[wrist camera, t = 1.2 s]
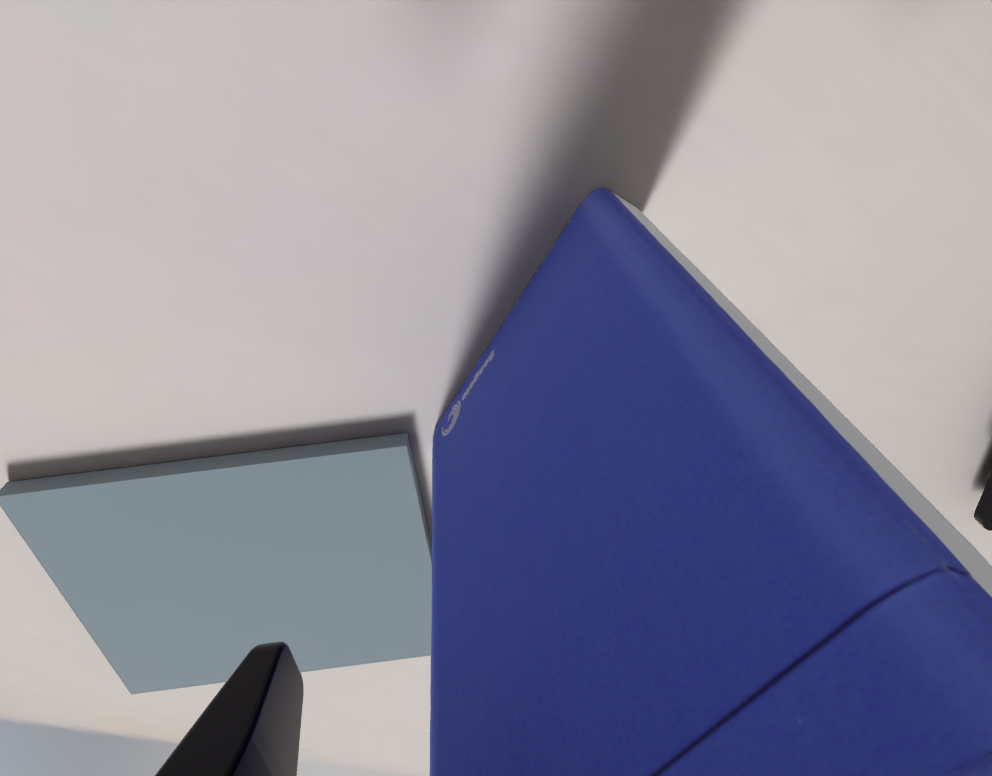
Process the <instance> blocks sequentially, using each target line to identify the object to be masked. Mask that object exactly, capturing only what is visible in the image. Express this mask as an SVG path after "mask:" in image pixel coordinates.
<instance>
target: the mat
mask: <svg viewBox="0 0 992 776" xmlns="http://www.w3.org/2000/svg"><path fill="white" fill-rule="evenodd" d="M0 506H1V507H2V509H3V510H4V512H5V513H6V515H7V516H8V518H9V519H10V520H11V522H12V523H13V525H14V526H15V528H16V529H17V530H18V532H19V533H20V535H21V536H22V538H23V539H24V541H25V542H26V543H27V545H28V546H29V548H30V549H31V551H32V552H33V554H34V555H35V556H36V558H37V559H38V561H39V562H40V564H41V565H42V566H43V568H44V569H45V571H46V572H47V574H48V575H49V577H50V578H51V579H52V581H53V582H54V584H55V585H56V587H57V588H58V590H59V591H60V592H61V594H62V595H63V597H64V598H65V600H66V601H67V602H68V604H69V605H70V607H71V608H72V610H73V611H74V613H75V614H76V615H77V617H78V618H79V620H80V621H81V623H82V624H83V626H84V627H85V628H86V630H87V631H88V633H89V634H90V636H91V637H92V638H93V640H94V641H95V643H96V644H97V646H98V647H99V649H100V650H101V651H102V653H103V654H104V656H105V657H106V659H107V660H108V662H109V663H110V664H111V666H112V667H113V669H114V670H115V672H116V673H117V675H118V676H119V677H120V679H121V680H122V682H123V683H124V685H125V686H126V687H127V689H128V690H129V692H130V693H131V694H137V693H145V692H153V691H160V690H168V689H176V688H183V687H191V686H199V685H206V684H214V683H222V682H227V680H228V679H229V678H230V677H231V675H232V674H233V673H234V671H235V670H236V669H237V667H238V666H239V665H240V663H241V662H242V661H243V660H244V658H245V657H246V656H247V654H248V653H249V652H250V651H251V649H253V648H254V647H255V646H257V645H260V644H266V643H274V642H285V643H286V644H287V645H288V646H289V648H290V650H291V653H292V655H293V657H294V659H295V662H296V664H297V666H298V669H299V671H300V672H306V671H314V670H321V669H329V668H337V667H344V666H352V665H360V664H367V663H375V662H383V661H390V660H398V659H406V658H413V657H421V656H429V655H431V625H432V548H431V543H430V538H429V533H428V529H427V524H426V519H425V514H424V509H423V505H422V500H421V495H420V490H419V486H418V481H417V476H416V471H415V466H414V462H413V457H412V452H411V447H410V443H409V438H408V433H401V434H393V435H385V436H377V437H369V438H361V439H353V440H345V441H337V442H328V443H320V444H312V445H304V446H296V447H288V448H280V449H272V450H264V451H255V452H247V453H239V454H231V455H223V456H215V457H207V458H199V459H191V460H182V461H174V462H166V463H158V464H150V465H142V466H134V467H126V468H118V469H109V470H101V471H93V472H85V473H77V474H69V475H61V476H53V477H45V478H37V479H28V480H20V481H12V482H7V483H6V484H5V485H4V486H3V488H2V489H1V490H0Z"/></svg>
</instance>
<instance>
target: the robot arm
mask: <svg viewBox="0 0 992 776" xmlns="http://www.w3.org/2000/svg"><path fill="white" fill-rule="evenodd" d="M974 518H975V519H976V520H977V521H978V522H979V523H980V524H981V525H982V526H983V527H984V528H985V529H987V530H992V472H991V475H990V477H989V479H988V482H987V484H986V487H985V489H984V491H983V494H982V496H981V498H980V501H979V503H978V505H977V508H976V510H975V513H974ZM302 704H303V680H302V676H301V673H300V671H299V669H298V666H297V664H296V662H295V659H294V657H293V655H292V653H291V650H290V648H289V646H288V645H287V644H286V643H285V642H274V643H266V644H260V645H257V646H255V647H254V648H253V649H251V651H250V652H249V653H248V654H247V656H246V657H245V658H244V660H243V661H242V662H241V663H240V665H239V666H238V667H237V669H236V670H235V671H234V673H233V674H232V675H231V677H230V678H229V679H228V680H227V682H226V683H225V684H224V686H223V687H222V688H221V690H220V691H219V692H218V694H217V695H216V696H215V698H214V699H213V700H212V701H211V703H210V704H209V705H208V707H207V708H206V709H205V711H204V712H203V713H202V715H201V716H200V717H199V718H198V720H197V721H196V722H195V724H194V725H193V726H192V728H191V729H190V730H189V732H188V733H187V734H186V736H185V737H184V738H183V739H182V741H181V742H180V743H179V745H178V746H177V747H176V749H175V750H174V751H173V753H172V754H171V755H170V756H169V758H168V759H167V760H166V762H165V763H164V764H163V766H162V767H161V768H160V770H159V771H158V773H157V774H156V775H155V776H296V775H297V763H298V751H299V739H300V727H301V715H302Z"/></svg>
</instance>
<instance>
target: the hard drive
mask: <svg viewBox="0 0 992 776" xmlns="http://www.w3.org/2000/svg"><path fill="white" fill-rule="evenodd" d="M430 776H992V566H991V565H990V564H989V563H988V562H987V561H986V560H985V559H984V557H983V556H982V555H981V554H980V553H979V552H978V551H977V549H976V548H975V547H974V546H973V545H972V544H971V543H970V542H969V541H968V540H967V539H966V538H965V537H964V536H963V535H962V534H961V533H960V532H959V531H958V530H957V529H956V528H955V527H954V526H953V525H952V524H951V523H950V522H949V521H948V520H947V519H946V518H945V517H944V516H943V515H942V514H941V513H940V512H939V511H938V510H937V509H936V508H935V507H934V506H933V505H932V504H931V503H930V502H929V501H928V500H927V499H926V498H925V497H924V496H923V495H922V494H921V493H920V492H919V491H918V490H917V489H916V488H915V487H914V486H913V485H912V484H911V483H910V482H909V481H908V480H907V479H906V478H905V477H904V476H903V475H902V473H901V472H900V471H899V470H898V469H897V468H896V467H895V466H894V465H893V464H892V463H891V462H890V461H889V460H888V459H887V458H886V457H885V456H884V455H883V454H882V453H881V452H880V451H879V450H878V449H877V448H876V447H875V446H874V445H873V444H872V443H871V442H870V441H869V440H868V439H867V438H866V437H865V436H864V435H863V434H862V433H861V432H860V431H859V430H858V429H857V428H856V427H855V426H854V425H853V424H852V423H851V422H850V421H849V420H848V419H847V418H846V417H845V416H844V415H843V414H842V413H841V412H840V411H839V410H838V409H837V408H836V407H835V406H834V405H833V404H832V403H831V402H830V401H829V400H828V399H827V398H826V397H825V396H824V395H823V394H822V393H821V392H820V391H819V390H818V389H817V388H816V387H815V386H814V385H813V384H812V383H811V382H810V381H809V380H808V379H807V378H806V377H805V376H804V375H803V374H802V373H801V372H800V371H799V370H798V369H797V368H796V367H795V366H794V365H793V364H792V363H791V362H790V361H789V360H788V359H787V358H786V357H785V356H784V355H783V354H782V353H781V352H780V351H779V350H778V349H777V348H776V347H775V346H774V345H773V344H772V343H771V342H770V341H769V340H768V339H767V338H766V337H765V336H764V335H763V334H762V333H761V331H760V330H758V329H757V328H756V327H755V326H754V325H753V324H752V323H751V322H750V321H749V320H748V319H747V318H746V317H745V316H744V315H743V314H742V313H741V312H740V310H739V309H738V308H737V307H736V306H735V305H734V304H733V303H732V302H731V301H729V300H728V299H727V298H726V297H725V296H724V295H723V294H722V293H721V292H720V291H719V290H718V289H717V288H716V287H715V286H714V284H713V283H712V282H711V281H710V280H709V279H708V278H707V277H706V276H705V275H704V274H703V273H702V272H701V271H700V270H699V269H698V268H697V267H696V266H695V265H694V264H693V263H692V262H691V261H690V260H689V259H688V258H686V257H685V256H684V255H683V254H682V253H681V252H680V251H679V250H678V249H677V248H676V247H675V246H674V245H673V244H672V243H671V242H670V241H669V240H668V239H667V238H666V237H665V236H664V234H663V233H661V232H660V231H659V230H658V229H657V228H656V226H655V225H654V224H653V223H652V222H651V221H650V220H649V219H648V218H647V217H646V216H645V215H644V214H643V213H642V212H641V211H640V210H639V209H637V208H636V207H635V206H633V205H632V204H630V203H628V202H627V201H625V200H624V199H622V198H621V197H619V196H618V195H616V194H615V193H613V192H611V191H609V190H608V189H606V188H603V187H600V188H598V189H596V190H594V191H593V192H592V193H591V194H590V195H589V196H588V197H587V198H586V199H585V200H584V201H583V202H582V203H581V204H580V205H579V207H578V208H577V209H576V211H575V212H574V214H573V216H572V217H571V219H570V220H569V222H568V223H567V225H566V227H565V228H564V230H563V231H562V233H561V235H560V236H559V238H558V239H557V241H556V242H555V243H554V244H553V246H552V247H551V249H550V251H549V253H548V254H547V256H546V257H545V258H544V260H543V261H542V263H541V265H540V267H539V268H538V270H537V271H536V273H535V274H534V275H533V277H532V279H531V280H530V282H529V284H528V285H527V287H526V288H525V290H524V291H523V293H522V294H521V296H520V297H519V298H518V300H517V302H516V303H515V305H514V307H513V308H512V310H511V312H510V313H509V315H508V316H507V317H506V319H505V321H504V322H503V324H502V325H501V327H500V328H499V330H498V331H497V333H496V335H495V336H494V338H493V339H492V341H491V342H490V344H489V345H488V347H487V349H486V350H485V352H484V353H483V355H482V356H481V357H480V358H479V360H478V362H477V363H476V365H475V367H474V368H473V370H472V371H471V372H470V374H469V376H468V378H467V380H466V381H465V382H464V384H463V385H462V387H461V388H460V390H459V391H458V393H457V395H456V396H455V397H454V399H453V401H452V403H451V404H450V405H449V407H448V409H447V410H446V412H445V413H444V415H443V416H442V418H441V419H440V421H439V422H438V424H437V426H436V428H435V431H434V435H433V458H432V625H431V720H430Z"/></svg>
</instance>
